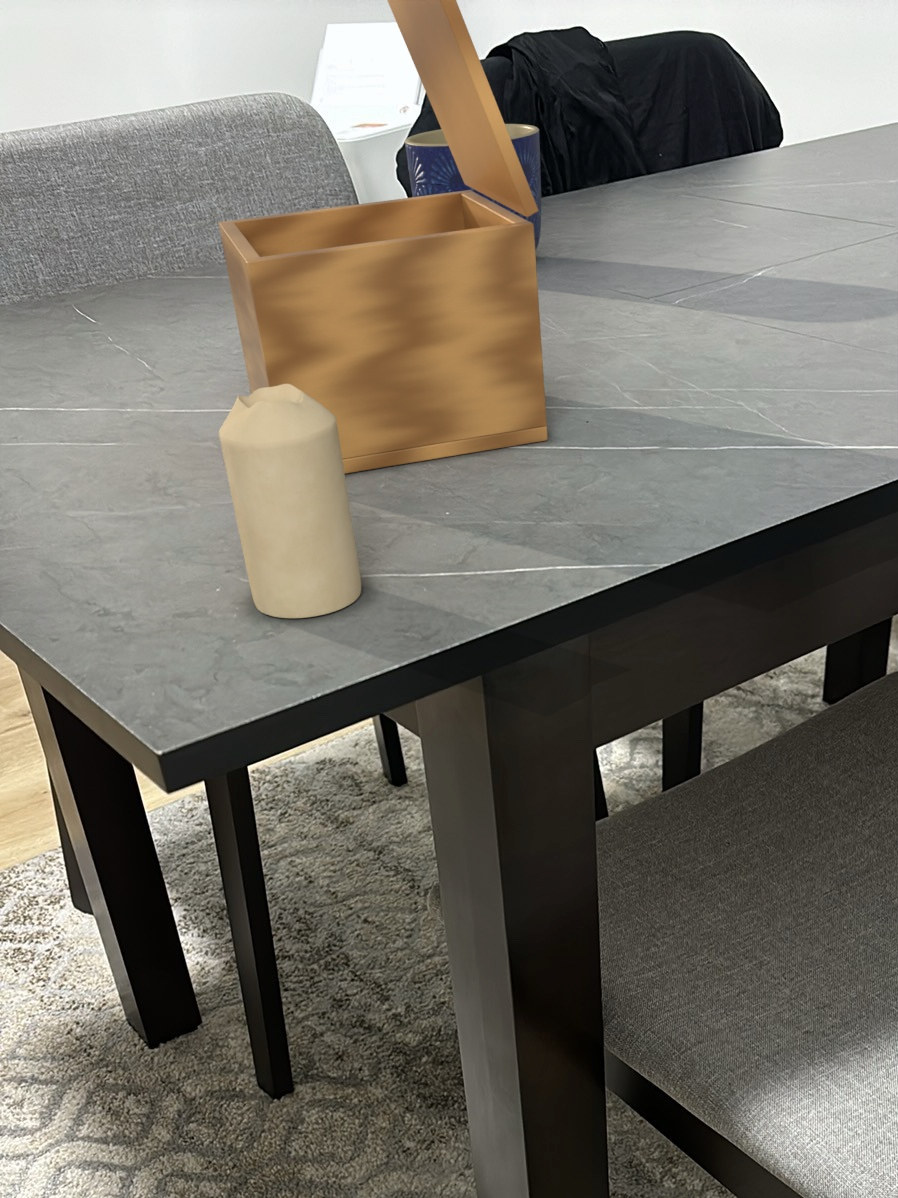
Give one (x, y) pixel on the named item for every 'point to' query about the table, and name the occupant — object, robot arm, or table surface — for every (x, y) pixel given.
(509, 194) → the lid
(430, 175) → the planter
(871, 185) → the table surface
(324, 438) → the candle
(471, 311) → the chest
